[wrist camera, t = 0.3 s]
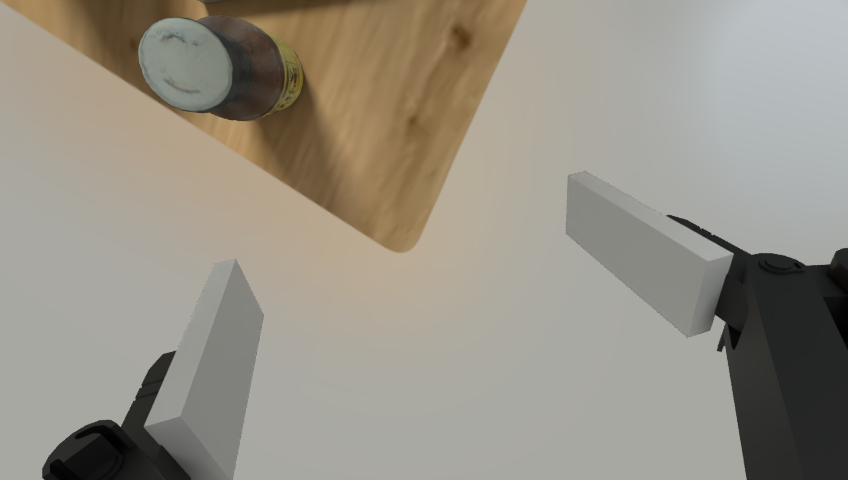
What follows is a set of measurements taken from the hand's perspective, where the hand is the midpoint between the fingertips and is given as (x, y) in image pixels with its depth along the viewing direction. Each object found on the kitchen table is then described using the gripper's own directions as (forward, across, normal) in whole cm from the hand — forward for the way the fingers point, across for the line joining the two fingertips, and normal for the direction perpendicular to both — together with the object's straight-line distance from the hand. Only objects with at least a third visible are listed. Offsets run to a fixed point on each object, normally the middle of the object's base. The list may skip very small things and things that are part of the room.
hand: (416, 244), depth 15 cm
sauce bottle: (+28, -7, +5) cm, 29 cm away
